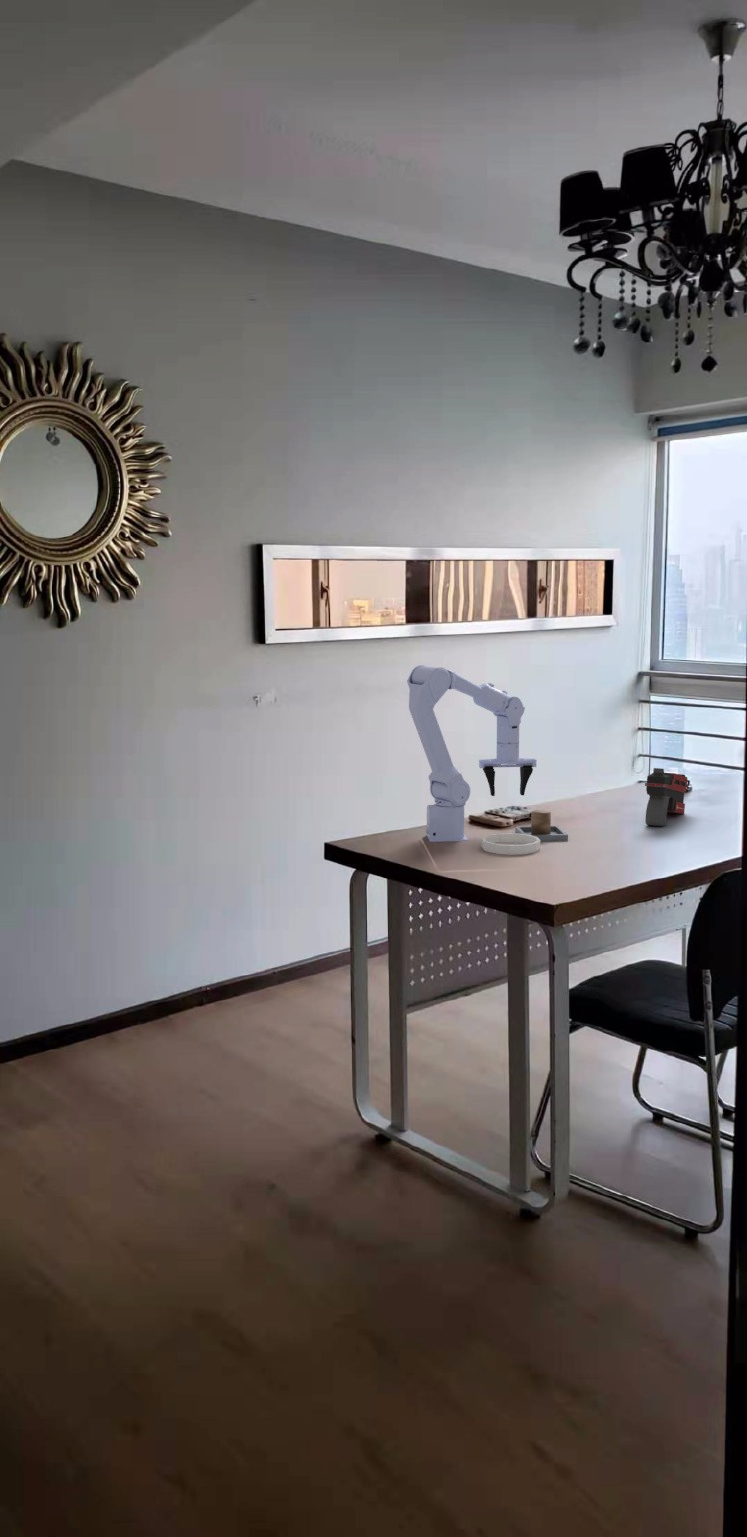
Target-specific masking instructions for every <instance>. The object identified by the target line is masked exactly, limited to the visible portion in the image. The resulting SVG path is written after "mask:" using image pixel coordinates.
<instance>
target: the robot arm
mask: <svg viewBox="0 0 747 1537" xmlns="http://www.w3.org/2000/svg"><path fill="white" fill-rule="evenodd" d="M406 683H407V686H408V689H409V693H408V698H409V699H408V708H409V709H408V710H409V712H410V715H411V718H412V720H413V723H414V726H415V729H416V732H417V734H418V738H419V739H420V742H421V745H422V748H423V750H424V753H425V755H426V758H427V762H428V763H429V766H430V769H431V772H430V773H429V775H428V780H429V791H430V792H429V793H430V795H431V796H432V798H433V799H434V803H433V804H428V805H427V806H426V828H425V830H426V831H425V832H426V834H425V835H426V837H427V839H428V841H429V842H430V843H431V842H434V843H435V842H439V843H440V842H467V841H469V838H467V836H466V835H465V806H466V803H467V801H468V800H469V798H470V795H471V786H470V785H469V783H468V782H467V781H466V780H465V779H464V777H463V775H462V773H461V772H460V771H459V770H458V768H456V767H455V766H454V763H453V761H452V758H451V755H450V753H449V750H448V747H447V744H446V742H445V739H444V736H443V733H442V731H441V728H440V725H439V722H438V718H437V716H436V713H435V712H434V707H435V706H436V704H438V702H439V701H440V699H441V698H442V697H443V696H444V695H445V694H446V692H447V691H448V690H455V691H457V692H460V693H462V694H465V695H466V696H469V697H470V698H471V697H472V699H473V702H474V704H475V705H477V706H479V707H480V708H483V709H484V710H487V711H489V712H491V713H493V716H494V717H496V758H489V759H488V758H487V759H486V758H485V759H478V768H480V769H482V770H483V772H484V775H485V777H486V781H487V783H488V787H489V792H490V793H489V794H490V796H491V797H495V796H496V795H495V793H496V788H495V787H496V786H495V778H496V771H495V768H519V774H520V776H519V780H520V781H519V782H520V784H519V785H520V786H519V795H520V796H525V792H526V788H527V784H528V782H529V780H530V777H531V776H532V774H533V770H534V768H537V759H536V758H527V757H526V758H521V757H520V724H521V722H522V720H521V719H522V717H523V715H524V713H525V709H526V708H525V707H526V706H524V704H523V702H522V700H521V699H520V698H519V697H518V696H512V695H509V693H508V691H506V690H499V689H497V688H495V684H493V683H490V682H487V683H482V684H479V685H478V684H477V683H474V681H471V680H469V679H467V678H465V677H464V676H462V675H461V674H459V673H457V672H455V671H453V670H451V669H446V667H445V668H444V667H436V666H435V667H434V666H425V665H423V664H422V665H417V666H415V667H414V668H413V669H412V670H411V671H410V674H409V676H408V678H407V681H406Z"/></svg>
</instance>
